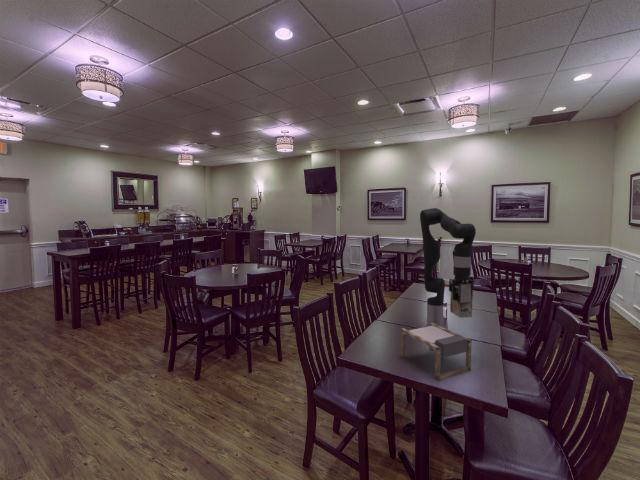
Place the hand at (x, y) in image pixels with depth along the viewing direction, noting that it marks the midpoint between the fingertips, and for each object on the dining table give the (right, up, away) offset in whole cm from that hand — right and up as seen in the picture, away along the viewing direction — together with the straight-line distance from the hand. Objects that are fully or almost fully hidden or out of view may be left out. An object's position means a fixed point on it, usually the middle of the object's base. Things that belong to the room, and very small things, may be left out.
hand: (461, 299), depth 146 cm
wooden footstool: (-13, -31, +1) cm, 34 cm away
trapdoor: (-12, -22, -2) cm, 25 cm away
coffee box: (0, -8, +1) cm, 8 cm away
